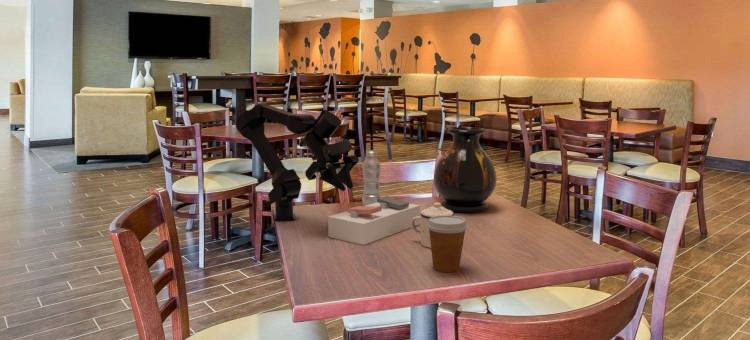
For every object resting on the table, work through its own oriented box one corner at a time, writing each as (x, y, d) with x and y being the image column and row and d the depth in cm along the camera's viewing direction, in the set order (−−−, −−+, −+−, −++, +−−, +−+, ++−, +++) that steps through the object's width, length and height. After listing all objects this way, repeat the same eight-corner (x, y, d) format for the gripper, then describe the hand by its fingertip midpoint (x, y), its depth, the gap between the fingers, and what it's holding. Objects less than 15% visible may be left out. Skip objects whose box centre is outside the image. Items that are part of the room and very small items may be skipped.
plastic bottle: (379, 209, 196) (379, 152, 193) (360, 208, 197) (360, 151, 194) (382, 205, 202) (383, 150, 199) (364, 204, 204) (364, 149, 200)
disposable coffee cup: (423, 261, 142) (424, 215, 140) (460, 261, 143) (462, 214, 141) (430, 275, 132) (431, 225, 130) (470, 274, 133) (471, 224, 131)
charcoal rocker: (376, 202, 175) (377, 198, 174) (386, 199, 178) (387, 195, 178) (399, 209, 170) (399, 205, 169) (408, 206, 174) (409, 202, 173)
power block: (328, 236, 163) (328, 211, 162) (386, 217, 185) (386, 194, 184) (363, 245, 156) (363, 218, 154) (419, 224, 177) (419, 200, 176)
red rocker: (347, 213, 164) (347, 209, 164) (358, 210, 168) (358, 206, 167) (371, 214, 158) (370, 209, 158) (381, 210, 162) (381, 206, 162)
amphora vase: (501, 215, 188) (504, 131, 184) (435, 215, 189) (437, 131, 184) (489, 201, 209) (491, 125, 205) (430, 201, 210) (432, 125, 205)
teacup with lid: (457, 242, 159) (458, 201, 157) (447, 251, 151) (448, 208, 149) (416, 236, 164) (417, 197, 162) (405, 245, 156) (405, 203, 154)
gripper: (311, 133, 159) (342, 176, 154) (354, 128, 173) (383, 167, 169) (292, 158, 165) (321, 201, 160) (335, 151, 179) (362, 190, 175)
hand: (348, 189), depth 166 cm, fingers open, 3 cm apart
